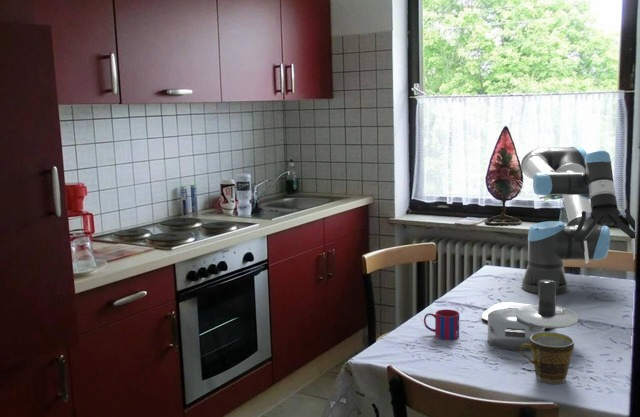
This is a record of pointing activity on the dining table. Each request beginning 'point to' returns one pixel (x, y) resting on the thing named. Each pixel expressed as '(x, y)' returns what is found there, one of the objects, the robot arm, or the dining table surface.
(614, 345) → the dining table surface
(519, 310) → the lid
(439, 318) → the cup
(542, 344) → the ceramic cup
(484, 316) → the plate
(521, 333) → the pot
